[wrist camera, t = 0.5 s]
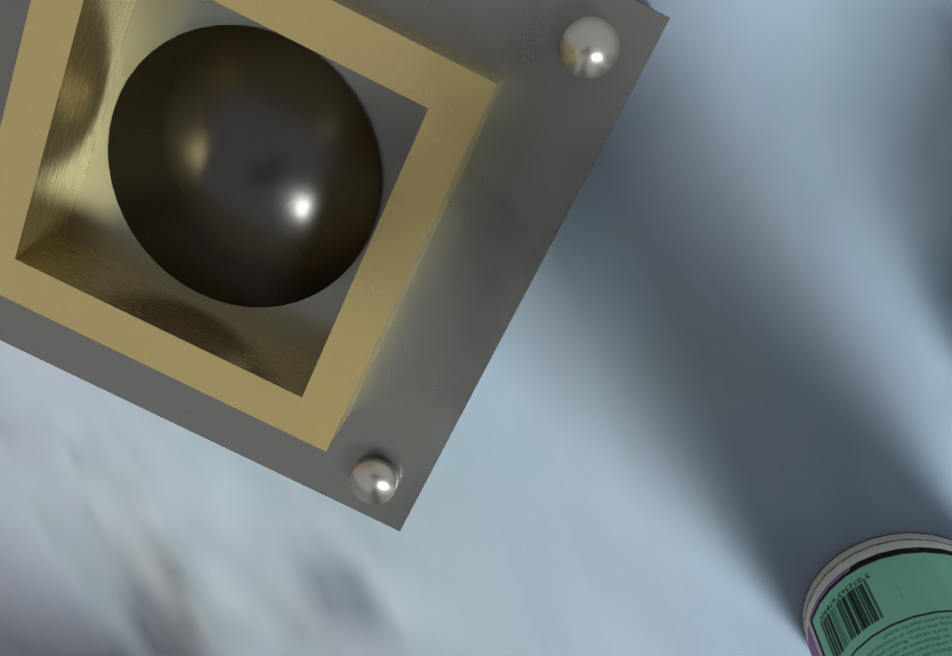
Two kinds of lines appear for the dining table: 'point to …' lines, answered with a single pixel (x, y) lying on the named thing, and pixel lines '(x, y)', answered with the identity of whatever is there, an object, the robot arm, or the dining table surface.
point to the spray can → (883, 599)
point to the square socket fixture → (297, 208)
